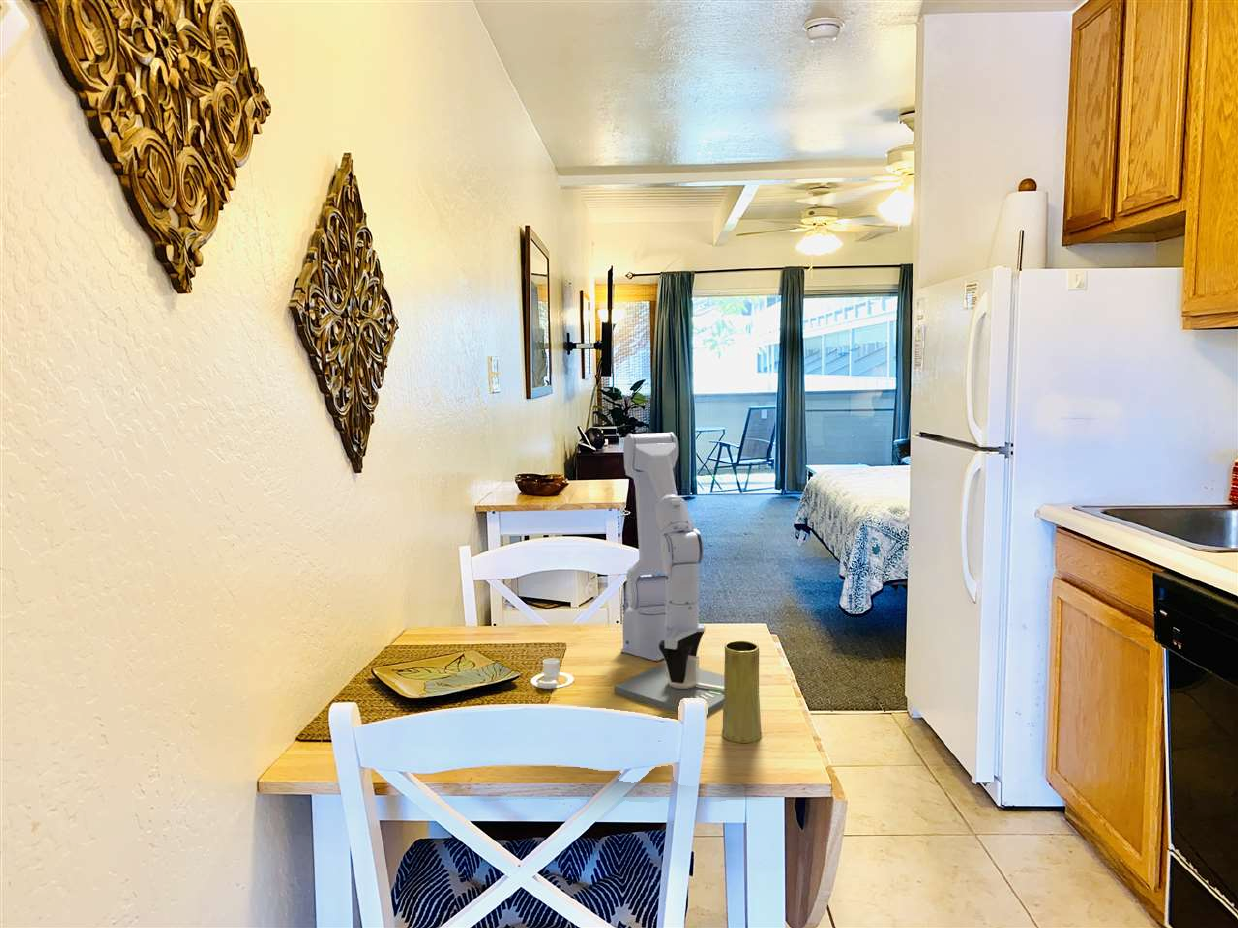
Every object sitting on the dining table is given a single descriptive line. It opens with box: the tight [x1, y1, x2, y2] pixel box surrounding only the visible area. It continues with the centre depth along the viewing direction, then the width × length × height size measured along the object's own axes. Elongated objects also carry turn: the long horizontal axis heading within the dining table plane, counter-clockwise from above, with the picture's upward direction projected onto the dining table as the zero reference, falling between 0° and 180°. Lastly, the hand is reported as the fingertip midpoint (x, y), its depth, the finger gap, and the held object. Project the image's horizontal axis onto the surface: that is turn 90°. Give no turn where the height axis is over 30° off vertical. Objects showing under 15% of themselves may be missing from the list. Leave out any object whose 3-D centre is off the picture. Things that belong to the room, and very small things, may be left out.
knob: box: [666, 655, 724, 691], centre depth 139 cm, size 11×5×5 cm, turn 63°
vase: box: [721, 639, 762, 744], centre depth 122 cm, size 6×6×14 cm
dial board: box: [613, 661, 724, 716], centre depth 140 cm, size 18×16×1 cm
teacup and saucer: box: [529, 657, 575, 690], centre depth 146 cm, size 9×8×4 cm
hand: (682, 675), depth 140 cm, fingers open, 6 cm apart
